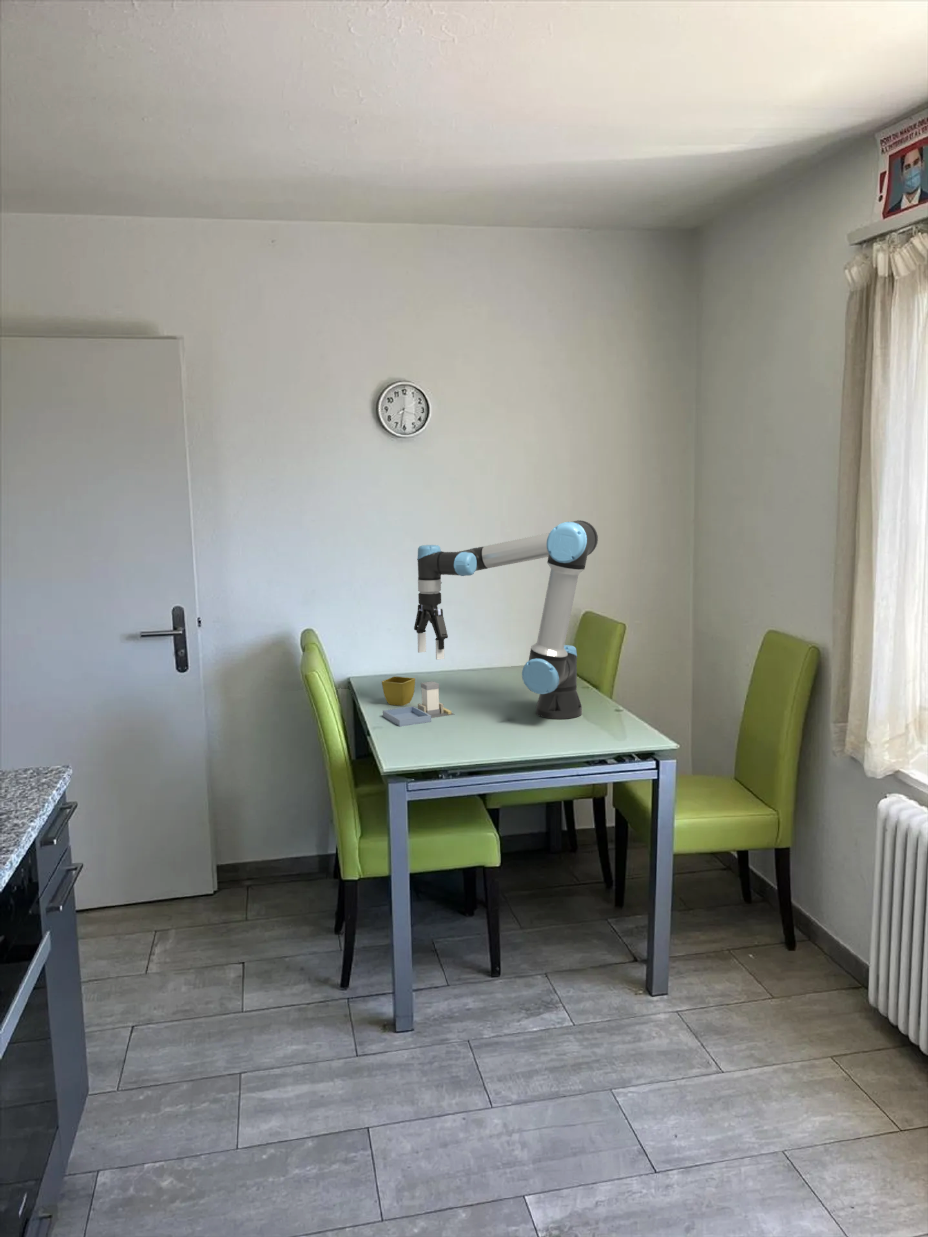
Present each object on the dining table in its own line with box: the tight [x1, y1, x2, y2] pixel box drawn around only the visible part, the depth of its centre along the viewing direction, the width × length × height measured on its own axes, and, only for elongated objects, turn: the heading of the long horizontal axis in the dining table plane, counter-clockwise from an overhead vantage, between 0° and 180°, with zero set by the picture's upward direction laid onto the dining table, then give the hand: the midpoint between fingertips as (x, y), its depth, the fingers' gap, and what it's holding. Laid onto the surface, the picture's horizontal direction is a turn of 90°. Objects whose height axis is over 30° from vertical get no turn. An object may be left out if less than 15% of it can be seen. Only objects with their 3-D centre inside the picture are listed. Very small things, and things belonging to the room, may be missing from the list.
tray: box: [382, 705, 432, 727], centre depth 295 cm, size 14×11×2 cm
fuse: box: [420, 681, 440, 715], centre depth 302 cm, size 4×4×10 cm
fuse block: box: [417, 701, 455, 719], centre depth 303 cm, size 12×10×4 cm
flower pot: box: [381, 676, 416, 707], centre depth 315 cm, size 9×9×9 cm
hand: (430, 655), depth 302 cm, fingers open, 13 cm apart
